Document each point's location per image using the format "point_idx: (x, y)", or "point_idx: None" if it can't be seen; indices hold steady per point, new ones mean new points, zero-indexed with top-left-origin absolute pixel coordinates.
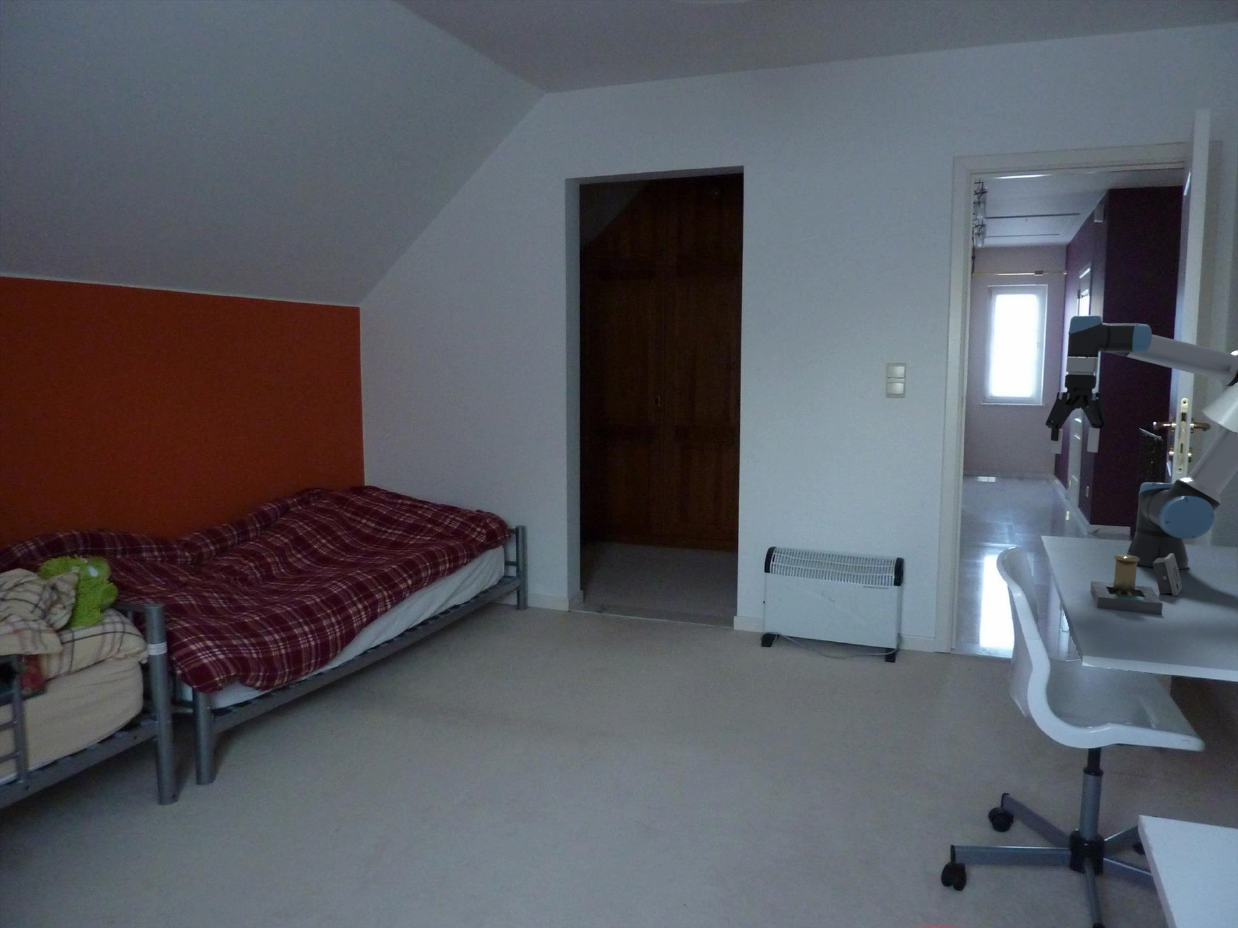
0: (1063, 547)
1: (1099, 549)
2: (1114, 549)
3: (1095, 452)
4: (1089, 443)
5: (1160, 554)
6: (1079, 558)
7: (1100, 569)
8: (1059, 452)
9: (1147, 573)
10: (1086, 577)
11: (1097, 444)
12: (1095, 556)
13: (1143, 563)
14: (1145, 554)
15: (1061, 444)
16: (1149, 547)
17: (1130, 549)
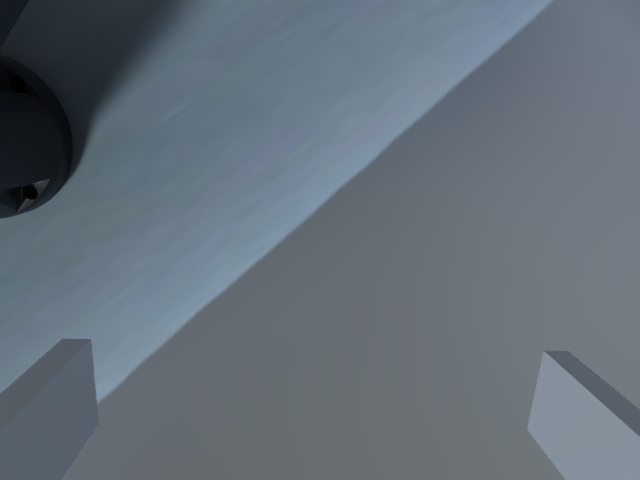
0: (100, 366)
1: (14, 317)
2: None
3: (89, 341)
4: (53, 468)
5: (6, 91)
6: (171, 260)
7: (228, 148)
8: (571, 357)
9: (134, 60)
10: (350, 99)
11: (24, 385)
12: (103, 261)
13: (65, 124)
14: (44, 123)
15: (609, 403)
16: (19, 117)
17: (18, 201)
